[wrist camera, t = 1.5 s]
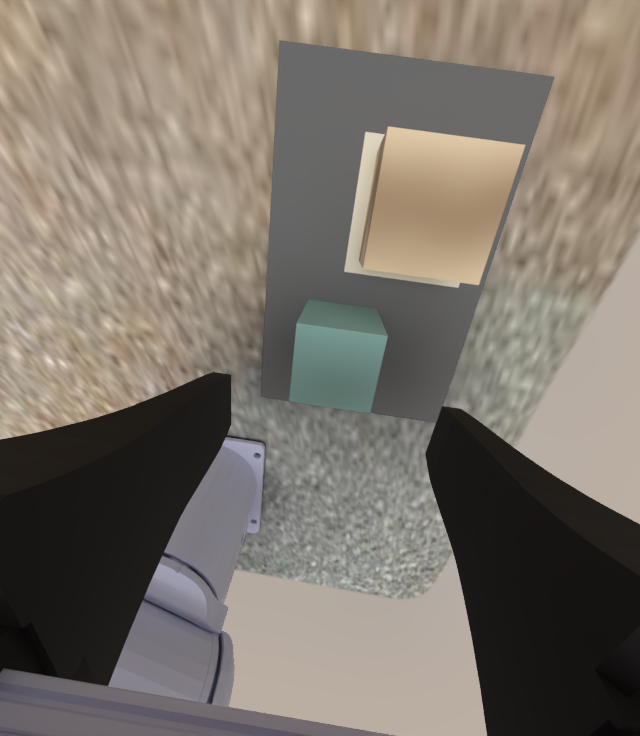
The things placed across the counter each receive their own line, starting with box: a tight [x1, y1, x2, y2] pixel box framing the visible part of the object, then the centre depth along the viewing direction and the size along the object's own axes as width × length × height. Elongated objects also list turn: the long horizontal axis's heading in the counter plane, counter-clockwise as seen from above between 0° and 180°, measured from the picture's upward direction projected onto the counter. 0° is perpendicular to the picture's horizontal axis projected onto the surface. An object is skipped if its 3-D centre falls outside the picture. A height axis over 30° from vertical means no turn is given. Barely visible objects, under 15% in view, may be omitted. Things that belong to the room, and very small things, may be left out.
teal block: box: [289, 299, 388, 413], centre depth 17 cm, size 4×4×5 cm
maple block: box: [359, 126, 525, 285], centre depth 14 cm, size 5×5×4 cm
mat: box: [261, 41, 554, 422], centre depth 17 cm, size 18×12×1 cm, turn 173°
